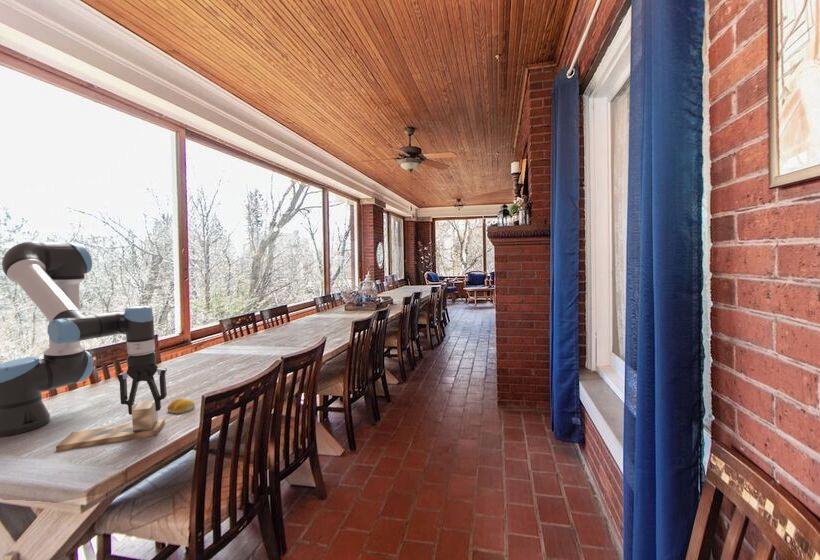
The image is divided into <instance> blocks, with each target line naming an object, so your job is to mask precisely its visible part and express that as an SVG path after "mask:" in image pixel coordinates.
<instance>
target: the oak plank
mask: <svg viewBox="0 0 820 560" xmlns="http://www.w3.org/2000/svg"><path fill="white" fill-rule="evenodd" d="M165 421H166V420H165V418H162V419H158V420H157V422H156V423H155V425H154V426H153V428H152V429H149V430H143V431H136V432H133V423H127V424H121V425H113V426H106V427H99V428H93V429H92V428H91V429H86V430H78V431H73V432H70V433H69V434H68V435H67V436H66V437H65V438H63V440H61V441H60V442H59V443H58V444H57V445H55V449H56V450H55V451H56V452H60V451H65V450H71V449H78V448H84V447H89V446H97V445H102V444H109V443H116V442H121V441H129V440H134V439H141V438H146V437H147V438H148V437H153V436H158V435H159V434H160V431H161V430H162V428H163V426H164V425H165V423H166V422H165Z"/></svg>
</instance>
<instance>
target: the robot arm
mask: <svg viewBox="0 0 820 560" xmlns="http://www.w3.org/2000/svg"><path fill="white" fill-rule="evenodd" d="M91 255H92V254H91V253H90V251H89V250H88V249H87V247H85V245H83V244H82V243H77V242H76V243H75V242H68V241H64V242H63V241H62V242H61V241H57V242H56V241H51V242H50V241H25V242H20V243H18V244H15V245H14V246H12V247H11V248H9V249H8V250H7V251H6V252H5V254H4V256H3V258H2V261H1V267H2V271H3V272H4V274H5V276H6V277H7V278H8V279H9V280H10V281H11V282H13V283H15V284H16V283H17V284H18V285H19V287H20V288H21V289H22V290H23V291H24V293H25V294H26V295H27V296H28V297H29V299H31V301H32V302H33V303H34V304H35V306H36V307H37V308H38V309H39V310H40V312H41V314H43V315H44V317H45V318H46V319H47V320H48V325H47V335H48V342H49V343H48V346H49V347H48V348H47V349H46V350H45V351H43V358H39V357H38V356H26V357H21V358H15V359H12V360H9V361H6V362H2V363H0V437H1V438H2V437H8V436H9V437H10V436H15V435H19V434H23V433H26V432H30V431H33V430H36V429H39V428H41V427H43V426H45V425H47V424H48V423H50V422H51V415H50V413H49V410H48V408H47V407H46V405H45V404H44V402H43V397H42V393H43V392H46V391H51V390H55V389H59V388H61V387H66V386H71V385H75V384H78V383H80V382H83V381H85V380H87V378H89V377H90V376H91V374H92V372H93V369H94V359H93V357H92V354H91V352H89V351H87V350H86V347H85V346H83V345H81V341H88V340H92V339H98V338H106V337H109V336H116V335H125V336H126V353H127V354H128V355H127V367H128V368H127V370H126V371H125V372H121V373H119V374H118V375H116V378H117V380H118V381H119V382H118V383H119V397H120V398H119V399H120V404H121V405H127V409H128V410H127V411H128V415H130V416H132V410H133V409H134V408H135V407H136V406H137V404H138V402H135V399H136V395H137V391H138V387H139V383H140V382H146V383H147V384H148V385H147V386H148V388H149V390H150V392H151V394H152V397H153V400H154V401H153V403H152V407H153V422H156V421H157V420H159V411H160V410H161V409H162V403H161V401H162V400H165V398H166V397H167V395H168V394H167V380H166V375H167V371H168V369H167V368H159V367H158V366H157V360H156V359H157V357H156V352H155V350H156V344H155V341H156V340H155V325H154V319H155V318H154V313H153V308H152V307H151V306H149V305H133V306H128V307H126V308H125V309H124V311H121V310H115V311H114V310H113V311H108V312H105V313H98V314H91V315H90V314H89V315H84V314H83V313H82V312H81V311H80V310H81V309H80V307H81V305H80V283H81V282H82V281H84V280H85V274H88V273H90V272H91V271H92V268H93V259H92V256H91ZM156 373H157V375H158V376H159V389H158V386H157V383H156V381H155V378H154V375H155V374H156ZM128 376H129V377H130V378H131V379H132V381H131V388H130V391H129V397H128V380H127V379H128ZM159 391H160V392H159Z"/></svg>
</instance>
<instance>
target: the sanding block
mask: <svg viewBox="0 0 820 560" xmlns="http://www.w3.org/2000/svg"><path fill="white" fill-rule="evenodd" d="M153 401H154V399H153V400H145V401H139V402H137V406H136V407H135V408H134V409H133V410H132V415H131V421H132V423H133V432H136V431H143V430H149V429H152V428H153V426H154V425H155V423H156V422H157V421H156V422H153V407H152V403H153ZM132 423H131V424H132Z"/></svg>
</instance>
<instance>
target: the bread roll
mask: <svg viewBox="0 0 820 560" xmlns="http://www.w3.org/2000/svg"><path fill="white" fill-rule="evenodd" d="M194 408H195V402H194V401H193V400H192V399H185V398H177V399H173V401H171V402H170V403H169V404H168V406H167V408H166V409H167V411H168V412H169V413H171V414H172V413H173V414H182V413H186V412H190V411H192V410H193V409H194Z"/></svg>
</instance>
